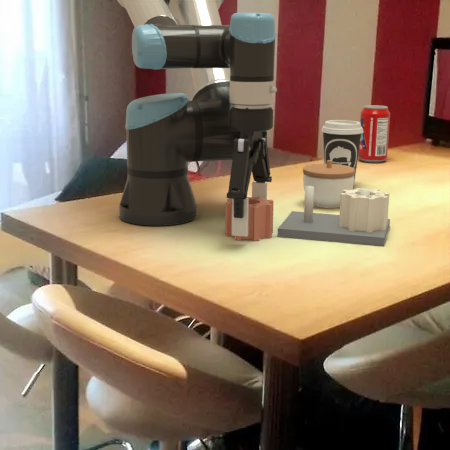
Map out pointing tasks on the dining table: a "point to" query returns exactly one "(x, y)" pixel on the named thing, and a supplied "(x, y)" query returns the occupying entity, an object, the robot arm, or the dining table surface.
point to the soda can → (374, 133)
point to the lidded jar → (328, 182)
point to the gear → (253, 219)
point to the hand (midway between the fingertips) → (249, 226)
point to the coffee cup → (342, 142)
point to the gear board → (342, 219)
